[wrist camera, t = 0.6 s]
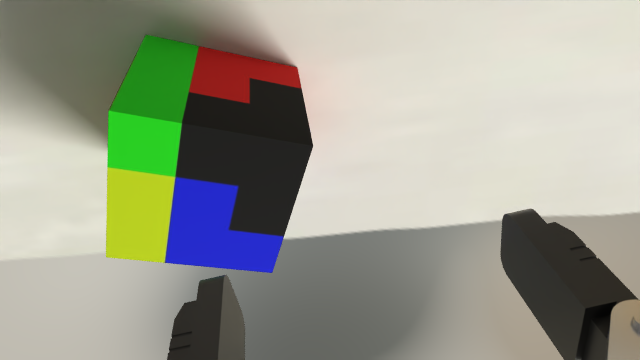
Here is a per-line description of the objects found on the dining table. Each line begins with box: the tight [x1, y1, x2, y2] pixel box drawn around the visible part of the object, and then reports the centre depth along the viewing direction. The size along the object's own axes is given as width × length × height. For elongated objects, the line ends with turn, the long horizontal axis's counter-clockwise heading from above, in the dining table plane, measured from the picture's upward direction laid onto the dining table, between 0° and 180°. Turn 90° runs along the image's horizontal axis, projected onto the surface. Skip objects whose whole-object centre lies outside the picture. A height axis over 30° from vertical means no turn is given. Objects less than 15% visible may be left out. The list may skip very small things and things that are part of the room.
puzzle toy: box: [106, 35, 313, 273], centre depth 30 cm, size 10×10×10 cm
